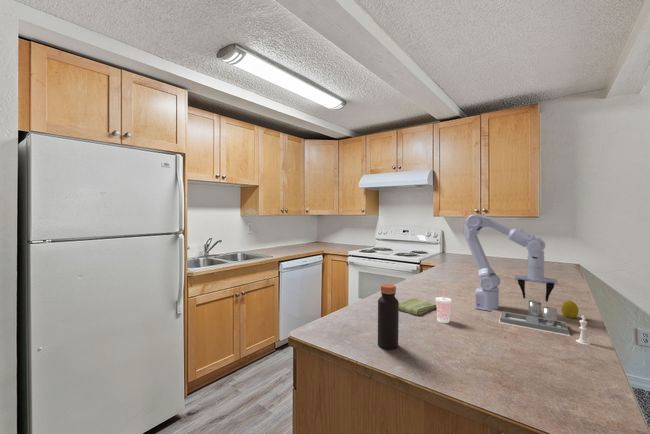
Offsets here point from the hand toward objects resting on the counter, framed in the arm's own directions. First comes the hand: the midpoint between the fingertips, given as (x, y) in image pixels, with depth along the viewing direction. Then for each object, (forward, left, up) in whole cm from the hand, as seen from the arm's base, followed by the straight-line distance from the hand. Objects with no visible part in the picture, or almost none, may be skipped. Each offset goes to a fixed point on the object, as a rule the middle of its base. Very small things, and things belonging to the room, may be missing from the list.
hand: (535, 299), depth 125 cm
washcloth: (-45, -16, -9) cm, 49 cm away
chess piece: (+13, -21, -8) cm, 26 cm away
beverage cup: (-31, -25, -8) cm, 41 cm away
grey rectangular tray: (-1, -11, -8) cm, 14 cm away
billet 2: (+4, -11, -7) cm, 14 cm away
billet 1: (0, 0, -8) cm, 8 cm away
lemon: (+12, +7, -8) cm, 16 cm away
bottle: (-41, -59, -8) cm, 72 cm away
